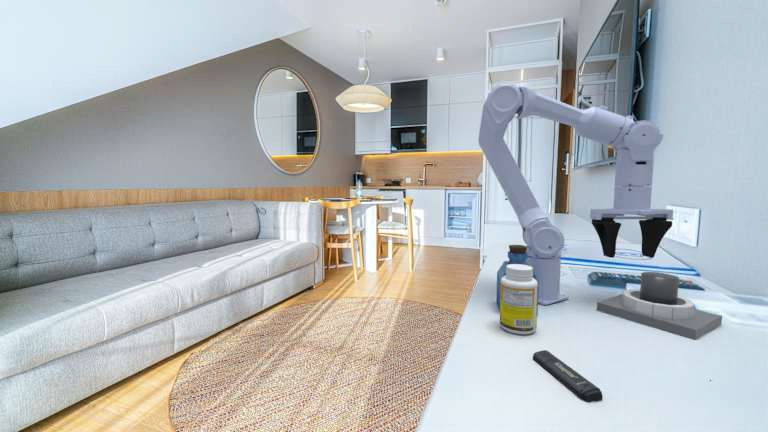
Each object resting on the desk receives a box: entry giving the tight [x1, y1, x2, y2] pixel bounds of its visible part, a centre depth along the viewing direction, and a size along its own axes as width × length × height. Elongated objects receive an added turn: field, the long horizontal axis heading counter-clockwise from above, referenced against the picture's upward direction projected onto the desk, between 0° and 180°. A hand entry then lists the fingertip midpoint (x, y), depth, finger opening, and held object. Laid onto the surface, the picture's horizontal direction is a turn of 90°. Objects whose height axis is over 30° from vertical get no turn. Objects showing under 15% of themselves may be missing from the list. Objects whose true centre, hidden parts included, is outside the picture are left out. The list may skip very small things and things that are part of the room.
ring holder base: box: [596, 288, 723, 341], centre depth 58 cm, size 14×11×4 cm
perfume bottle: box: [495, 244, 539, 318], centre depth 62 cm, size 6×6×12 cm
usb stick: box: [532, 349, 603, 403], centre depth 40 cm, size 10×3×2 cm, turn 9°
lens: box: [639, 271, 680, 305], centre depth 58 cm, size 5×5×6 cm
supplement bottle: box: [499, 264, 538, 336], centre depth 53 cm, size 6×6×10 cm
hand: (628, 256), depth 64 cm, fingers open, 7 cm apart
